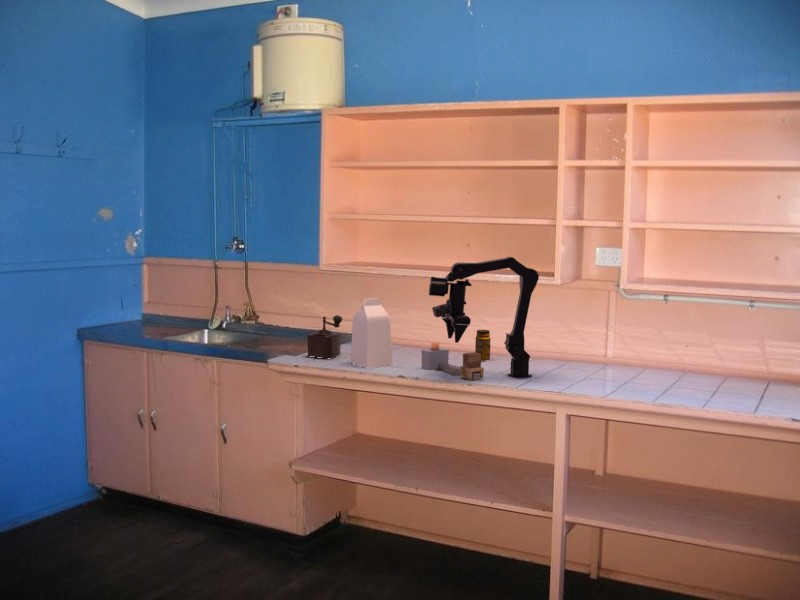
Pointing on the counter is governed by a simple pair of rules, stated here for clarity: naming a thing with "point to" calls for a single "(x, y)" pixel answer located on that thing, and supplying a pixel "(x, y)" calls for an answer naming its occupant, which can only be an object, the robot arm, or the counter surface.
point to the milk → (371, 335)
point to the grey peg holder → (434, 358)
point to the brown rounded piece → (434, 346)
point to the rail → (455, 370)
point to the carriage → (471, 365)
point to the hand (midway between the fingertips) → (453, 340)
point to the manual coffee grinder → (325, 341)
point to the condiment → (483, 344)
